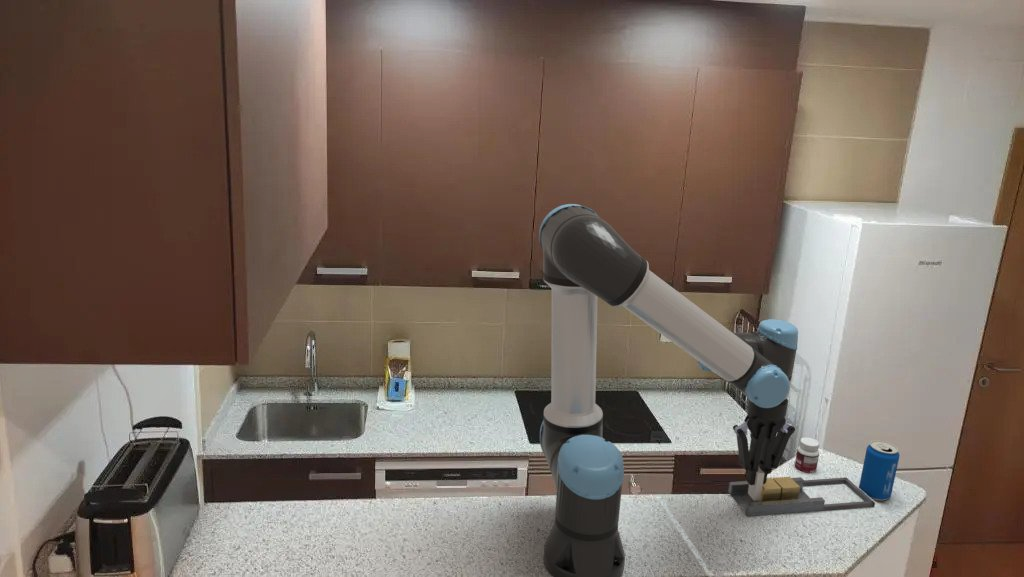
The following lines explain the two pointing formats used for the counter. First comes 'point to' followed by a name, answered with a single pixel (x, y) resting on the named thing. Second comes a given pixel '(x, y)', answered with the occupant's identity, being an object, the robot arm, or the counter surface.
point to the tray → (841, 506)
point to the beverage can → (879, 470)
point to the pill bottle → (807, 455)
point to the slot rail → (774, 507)
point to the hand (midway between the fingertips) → (754, 496)
